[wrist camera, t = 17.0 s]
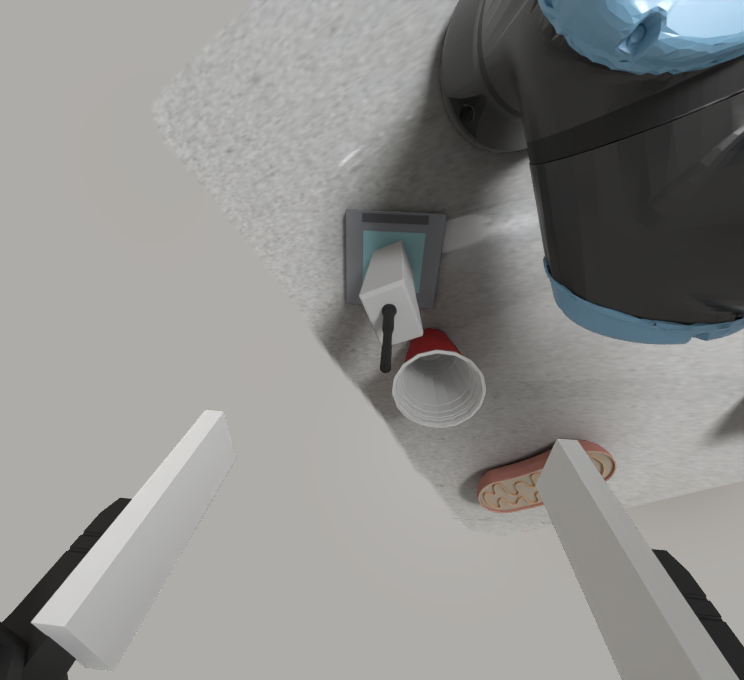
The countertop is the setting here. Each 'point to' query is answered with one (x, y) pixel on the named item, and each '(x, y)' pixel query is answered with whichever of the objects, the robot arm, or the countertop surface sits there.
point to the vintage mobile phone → (391, 299)
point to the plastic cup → (437, 383)
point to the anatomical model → (530, 480)
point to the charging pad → (389, 227)
